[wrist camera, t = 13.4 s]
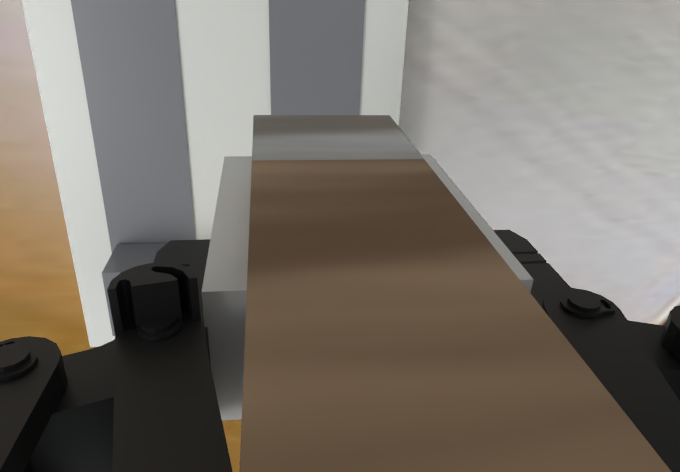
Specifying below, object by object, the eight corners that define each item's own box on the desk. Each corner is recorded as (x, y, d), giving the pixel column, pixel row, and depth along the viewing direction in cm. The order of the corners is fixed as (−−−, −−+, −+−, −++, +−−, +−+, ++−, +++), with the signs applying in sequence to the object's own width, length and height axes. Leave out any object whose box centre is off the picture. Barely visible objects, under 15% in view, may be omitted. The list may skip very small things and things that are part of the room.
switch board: (20, -90, 20) (1, -93, 19) (405, -73, 22) (415, -75, 20) (98, 328, 28) (89, 348, 27) (376, 317, 30) (382, 336, 28)
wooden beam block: (253, 114, 16) (232, 638, 4) (389, 115, 17) (754, 577, 4) (257, 238, 18) (253, 869, 6) (380, 235, 19) (622, 806, 6)
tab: (116, 243, 24) (101, 272, 22) (188, 242, 25) (180, 270, 22) (126, 303, 26) (112, 335, 23) (193, 300, 26) (187, 332, 24)
